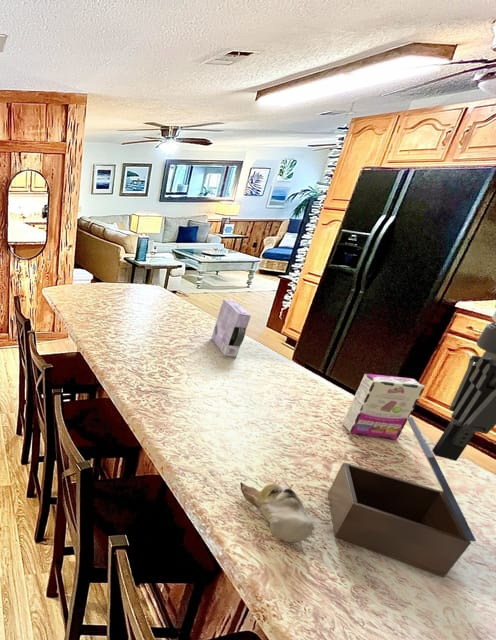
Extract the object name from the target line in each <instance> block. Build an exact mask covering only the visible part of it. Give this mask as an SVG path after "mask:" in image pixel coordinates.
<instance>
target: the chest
mask: <svg viewBox="0 0 496 640" xmlns="http://www.w3.org/2000/svg"><path fill="white" fill-rule="evenodd" d="M327 496H328V502H329V510H330V515H331V521H332V526H333V533H334V537H335V538H336V539H339V540H342V541H345V542H348V543H350V544H353V545H356V546H359V547H361V548H364V549H367V550H369V551H372V552H375V553H378V554H380V555H383V556H385V557H387V558H388V557H389V558H390V559H393V560H396V561H399V562H401V563H404V564H407V565H410V566H412V567H415V568H417V569H420V570H423V571H425V572H429V573H431V574H434V575H437V576H439V577H442V578H445V577H446V575H447V574H448V573H449V572H450V571H451V569H452V568H453V567H454V566H455V564H456V563H457V562H458V561H459V559H460V558H461V557H462V555H463V554H464V553H465V551H466V550H467V549H468V548H469V546H471V543H472V541H469V540H468V538H467V536H466V534H465V532H464V530H463V529H462V527H461V525H460V523H459V521H458V519H457V517H456V515H455V513H454V511H453V509H452V507H451V506H450V504H449V502H448V500H447V498H446V496H445V494H444V492H443V490H439V489H437V488H433V487H429V486H426V485H423V484H419V483H416V482H413V481H409V480H407V479H403V478H400V477H396V476H393V475H389V474H386V473H382V472H379V471H376V470H372V469H369V468H365V467H362V466H359V465H355V464H351V463H349V462H346V461H343V462H342V463H341V466H340V467H339V470H338V472H337V473H336V475H335V477H334V479H333V481H332V484H331V486H330V488H329V490H328V492H327Z"/></svg>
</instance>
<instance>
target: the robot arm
mask: <svg viewBox="0 0 496 640" xmlns="http://www.w3.org/2000/svg"><path fill="white" fill-rule="evenodd" d="M494 308H496V303H495V304H494ZM491 319H492V321H493V322H490V323H487V324H486V326H485V328H484V329H483V331H482V332H481V334H480V335H479V338H477V341H476V345H477V347H478V348H480V349H481V350H482V351H484V352H483V353H482V355H481V356H479V355H474V354H473V355H471V356H470V358H469V361H468V365H467V368H466V371H465V372H464V375H463V377H462V378H461V379H462V380H461V382H460V384H459V386H458V388H457V390H456V392H455V395H454V397H453V399H452V400H451V404H450V405H449V409H448V410H449V411H450V412H452V413H451V416H450V418H451V420H450V422H449V423H448V425H447V426H446V428H445V430H444V431H443V432H442V434H441V436H440V437H439V439H438V440H437V442H436V444H435V445H434V447H433V448H432V450H431V452H432V453H433V455H434V457H440V458H444V459H447V460H451V461H454V462H457V461H458V460H459V458H460V456H461V455H462V453H463V452H464V450H465V449H466V447H467V446H468V445H469V443H470V441H472V438H473V437H474V436H475V435H476V433H480V434H484V435H487V434H489V433H490V432H491V430H493V429H494V427H495V426H496V311H494V313H493V315H492V316H491Z"/></svg>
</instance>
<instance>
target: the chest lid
mask: <svg viewBox="0 0 496 640" xmlns="http://www.w3.org/2000/svg"><path fill="white" fill-rule="evenodd" d="M407 422H408V424H409V426H410V428H411V430H412V432H413V434H414V436H415V438H416V441H417V442H418V444H419V446H420V448H421V450H422V452H423V454H424V456H425V458H426V460H427V462H428V465H429V466H430V468H431V470H432V472H433V475H434V476H435V479H436V480H437V482H438V484H439V486H440V488H441V491H443V492H444V494H445V496H446V498H447V500H448V502H449V504H450V506H451V507H452V509H453V511H454V513H455V515H456V517H457V519H458V521H459V523H460V525H461V527H462V529H463V530H464V532H465V534H466V536H467V538H468V540H469V541H470V542H477V540H476V538H475V535H474V534H473V532H472V530H471V528H470V526H469V524H468V521H467V520H466V518H465V516H464V514H463V511H462V510H461V508H460V505H459V504H458V502H457V500H456V497H455V496H454V493H453V491H452V489H451V487H450V486H449V483H448V481H447V479H446V477H445V475H444V473H443V471H442V469H441V467H440V465H439V463H438V461H437V458H436V456H435V455H434V453H433V451H432V450H431V448H430V446H429V444H428V442H427V441H426V439H425V437H424V435H423V434H422V432H421V430H420V428H419V426H418V425H417V423H416V421H415V420H414V417H413V416H409V417H408V418H407Z"/></svg>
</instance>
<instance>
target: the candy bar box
mask: <svg viewBox="0 0 496 640" xmlns="http://www.w3.org/2000/svg"><path fill="white" fill-rule="evenodd" d="M425 388H426V386H425V385H423V384H422V383H421V382H419V381H417V379H415V378H411V377H401V376H394V375H393V376H392V375H383V374H382V375H381V374H373V373H364V375H363V377H362V379H361V381H360V383H359V386H358V388H357V390H356V392H355V395H354V398H353V399H352V401H351V403H350V406H349V408H348V411H347V412H346V415H345V417H344V419H343V421H342V426H343V427H344V428H345V430H347V431H348V432H349V433H350V434H351V435H352V434H353V435H359V436H367V437H374V438H375V437H376V438H381V439H382V438H383V439H391V440H398V438H399V437H400V435H401V433H402V431H403V429H404V428H405V425H406V424H407V422H408V420H407V418H408V417H411V414H412V412H413V410H415V407H416V405H417V404H418V401H419V399H420V397H421V396H422V393H423V392H424V390H425Z"/></svg>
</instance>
